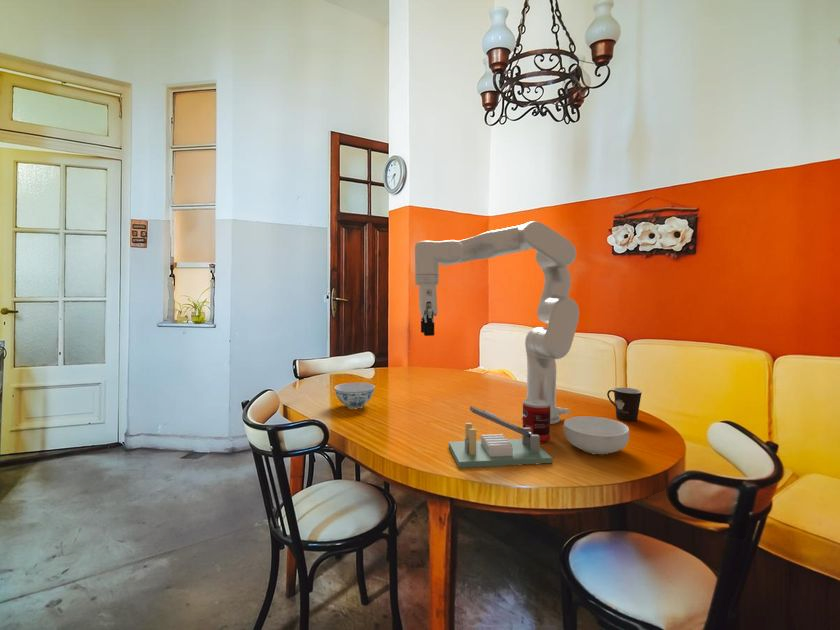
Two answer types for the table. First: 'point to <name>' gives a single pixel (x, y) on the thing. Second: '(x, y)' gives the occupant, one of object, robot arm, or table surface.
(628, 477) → the table surface
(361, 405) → the chinaware
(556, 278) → the robot arm
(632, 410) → the coffee mug
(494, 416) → the grey hinged clamp lever
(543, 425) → the canned food
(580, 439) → the cereal bowl
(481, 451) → the clamp board
